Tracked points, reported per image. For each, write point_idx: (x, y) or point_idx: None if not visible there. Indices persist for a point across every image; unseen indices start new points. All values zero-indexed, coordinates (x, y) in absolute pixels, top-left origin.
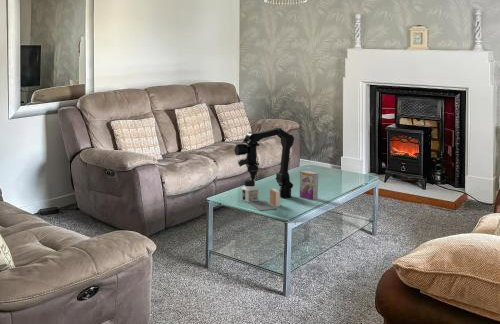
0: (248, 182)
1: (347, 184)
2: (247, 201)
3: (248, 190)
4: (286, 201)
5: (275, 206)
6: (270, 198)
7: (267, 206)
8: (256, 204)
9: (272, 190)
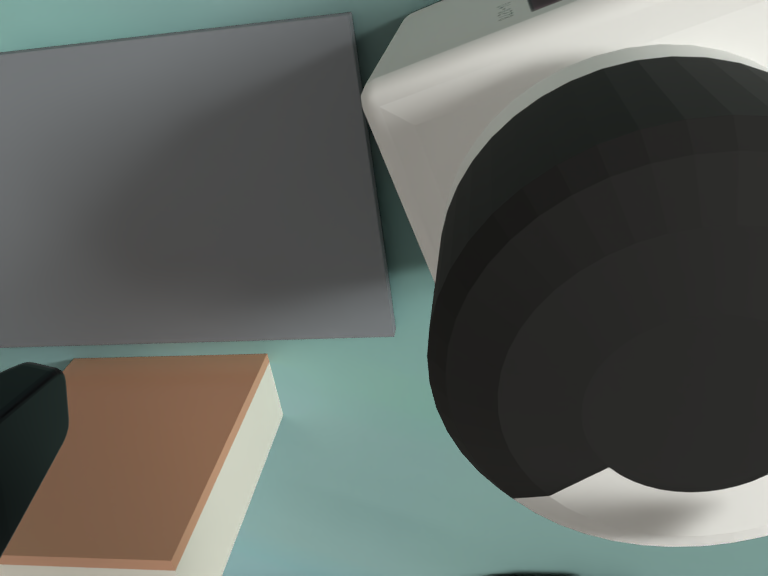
0: (470, 236)
1: None
2: (430, 5)
3: (366, 93)
4: (327, 552)
5: (73, 366)
6: (206, 414)
7: (30, 261)
8: (164, 125)
9: (34, 554)
